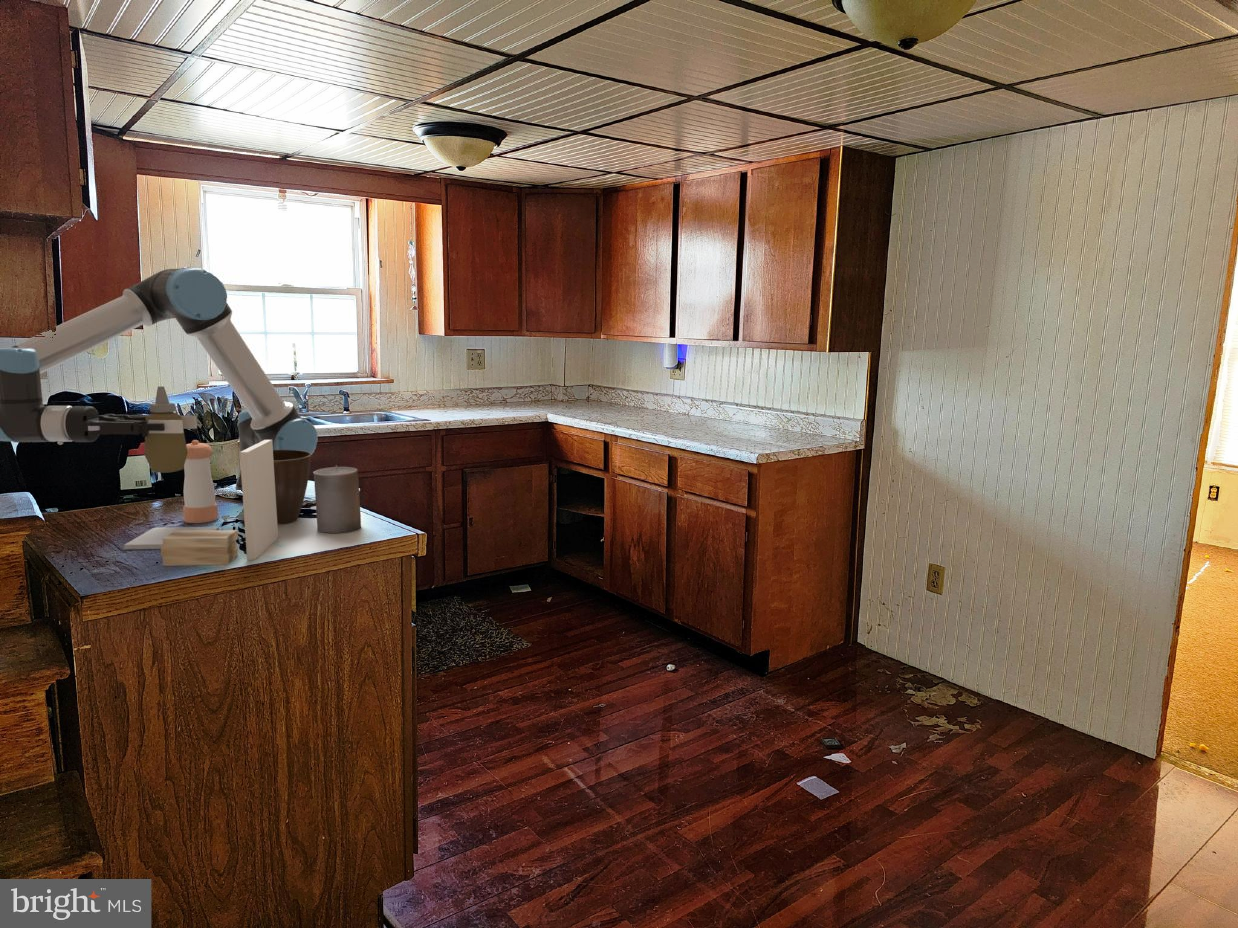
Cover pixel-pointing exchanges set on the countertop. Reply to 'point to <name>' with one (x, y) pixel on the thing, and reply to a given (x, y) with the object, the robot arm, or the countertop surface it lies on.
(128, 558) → the countertop surface
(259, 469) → the panel
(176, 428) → the robot arm
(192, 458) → the pepper shaker
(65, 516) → the countertop surface
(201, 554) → the offcut stack
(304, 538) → the countertop surface
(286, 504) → the plant pot
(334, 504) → the pillar candle
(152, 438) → the squeeze bottle
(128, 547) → the grey mat
